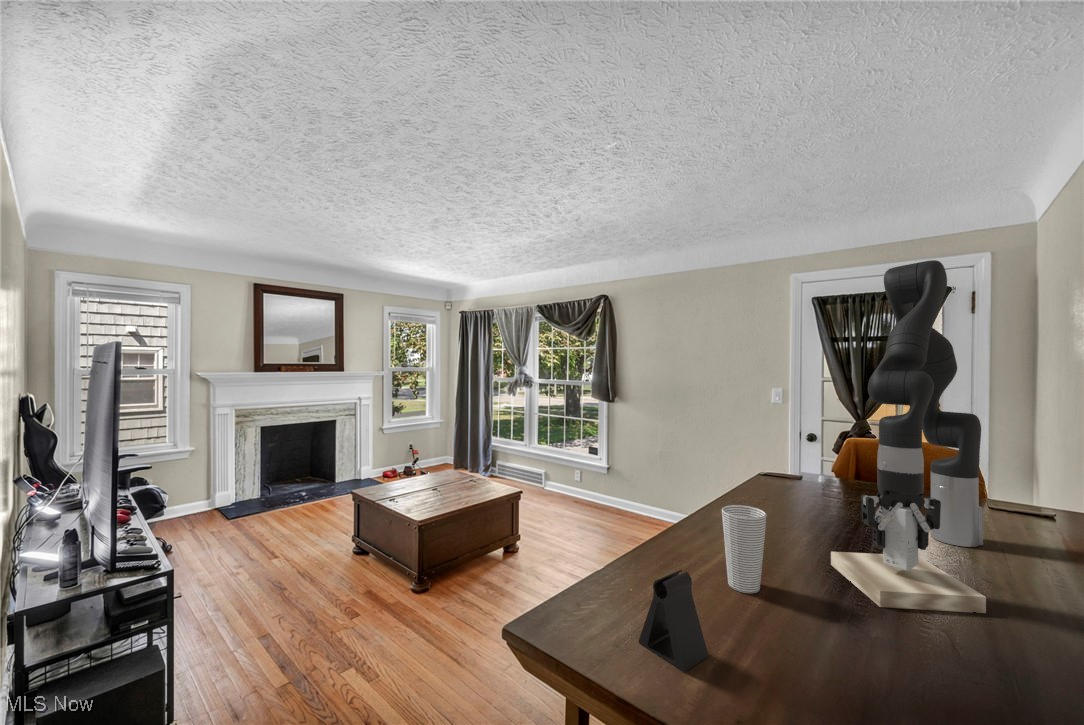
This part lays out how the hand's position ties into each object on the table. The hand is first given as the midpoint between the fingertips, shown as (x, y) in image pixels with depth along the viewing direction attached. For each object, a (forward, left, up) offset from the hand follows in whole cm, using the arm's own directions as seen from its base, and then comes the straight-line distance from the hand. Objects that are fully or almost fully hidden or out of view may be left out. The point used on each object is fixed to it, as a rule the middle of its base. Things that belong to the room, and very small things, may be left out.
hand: (900, 547), depth 93 cm
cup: (+32, +4, -8) cm, 33 cm away
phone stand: (+50, +27, -8) cm, 57 cm away
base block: (0, 0, -8) cm, 8 cm away
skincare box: (0, 0, -4) cm, 4 cm away
